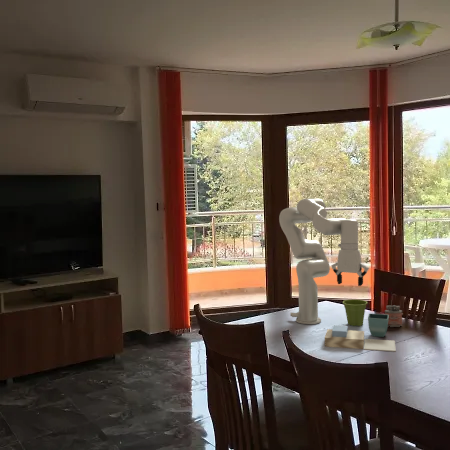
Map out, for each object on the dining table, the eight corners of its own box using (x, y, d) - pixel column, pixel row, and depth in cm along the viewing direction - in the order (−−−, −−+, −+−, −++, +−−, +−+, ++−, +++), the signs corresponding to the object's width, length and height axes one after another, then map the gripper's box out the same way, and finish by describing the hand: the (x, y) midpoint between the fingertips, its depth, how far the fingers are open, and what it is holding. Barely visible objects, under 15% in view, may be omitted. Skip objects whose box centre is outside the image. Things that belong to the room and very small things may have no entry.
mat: (364, 349, 212) (364, 348, 212) (364, 339, 226) (364, 338, 226) (395, 351, 209) (395, 350, 209) (394, 341, 222) (394, 340, 222)
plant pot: (345, 320, 259) (345, 298, 258) (369, 322, 254) (369, 300, 253) (340, 326, 249) (340, 303, 248) (365, 328, 243) (365, 305, 243)
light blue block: (332, 336, 218) (332, 330, 218) (333, 330, 227) (333, 325, 227) (346, 337, 217) (346, 331, 216) (347, 331, 225) (347, 325, 225)
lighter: (401, 324, 248) (401, 304, 248) (402, 326, 245) (402, 306, 244) (384, 324, 249) (384, 304, 248) (385, 326, 246) (385, 306, 245)
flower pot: (388, 333, 235) (388, 314, 234) (388, 339, 226) (388, 319, 226) (369, 332, 237) (368, 313, 237) (367, 337, 229) (367, 317, 228)
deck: (324, 346, 218) (324, 337, 217) (327, 337, 230) (327, 329, 230) (363, 349, 213) (363, 339, 213) (364, 340, 225) (364, 331, 225)
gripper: (328, 246, 231) (328, 284, 232) (365, 248, 220) (365, 287, 221) (335, 245, 237) (335, 281, 238) (371, 246, 226) (371, 285, 227)
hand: (349, 284), depth 230 cm, fingers open, 9 cm apart
